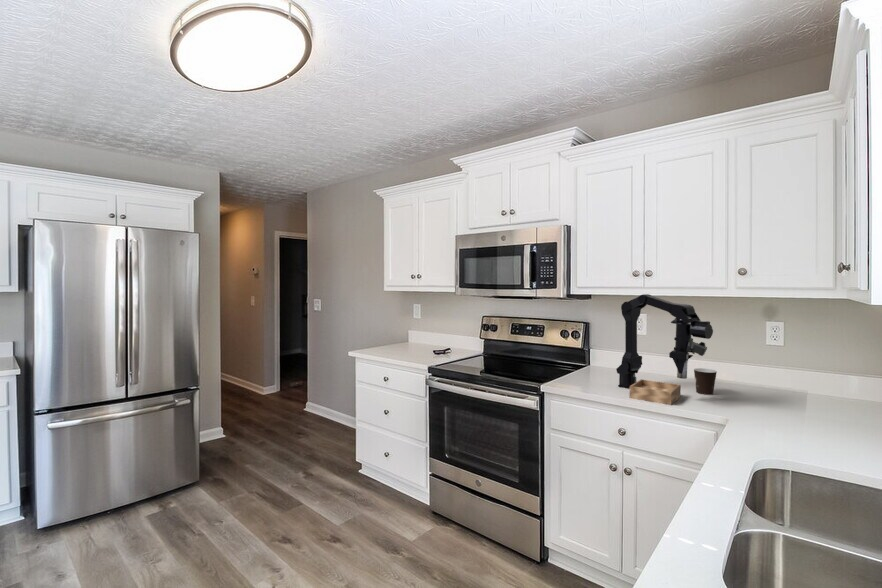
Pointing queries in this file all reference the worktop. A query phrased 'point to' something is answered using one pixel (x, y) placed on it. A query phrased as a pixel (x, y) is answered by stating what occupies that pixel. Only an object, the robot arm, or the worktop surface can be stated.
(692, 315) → the robot arm
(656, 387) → the tray
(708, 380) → the coffee mug
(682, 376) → the peg
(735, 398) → the worktop surface
